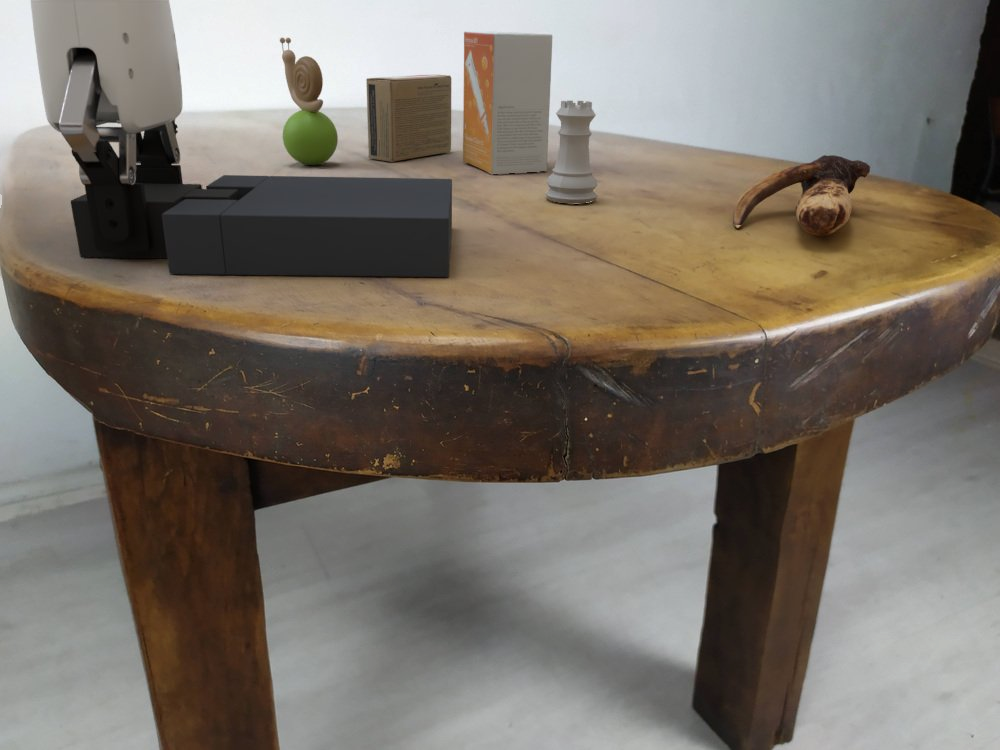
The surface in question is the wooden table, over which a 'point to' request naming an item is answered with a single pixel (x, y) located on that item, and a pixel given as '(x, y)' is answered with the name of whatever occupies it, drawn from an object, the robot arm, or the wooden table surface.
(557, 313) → the wooden table surface
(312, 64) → the snail figurine
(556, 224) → the wooden table surface
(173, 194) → the black stepped block
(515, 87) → the small box
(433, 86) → the ink box
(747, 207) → the lashed bone hook
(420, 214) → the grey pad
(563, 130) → the rook chess piece
